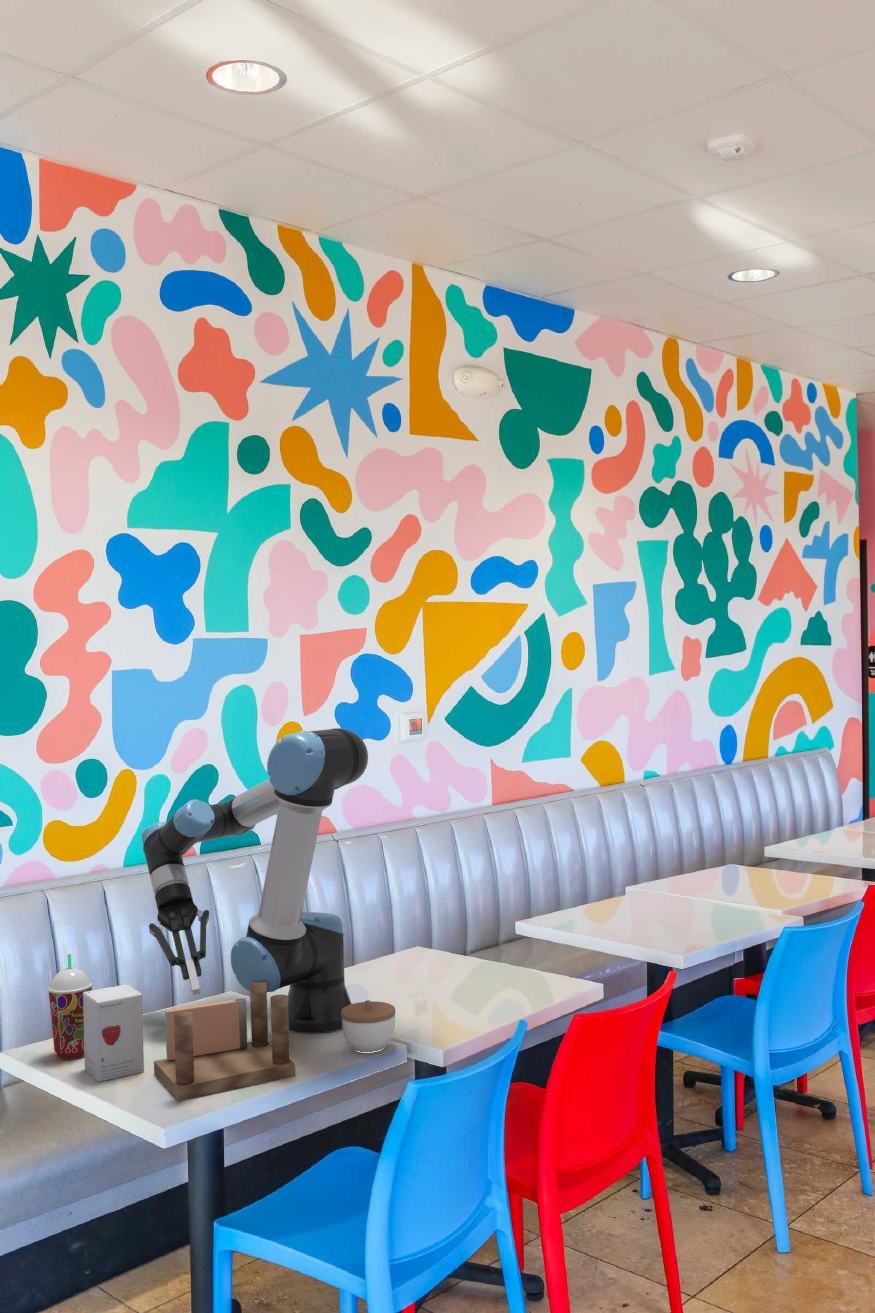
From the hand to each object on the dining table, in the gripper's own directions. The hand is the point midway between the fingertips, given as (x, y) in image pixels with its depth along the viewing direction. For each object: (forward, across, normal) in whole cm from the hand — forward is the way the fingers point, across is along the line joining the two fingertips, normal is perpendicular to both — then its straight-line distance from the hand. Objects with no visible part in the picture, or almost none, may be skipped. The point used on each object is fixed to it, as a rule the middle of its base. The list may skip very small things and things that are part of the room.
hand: (196, 991), depth 236 cm
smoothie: (+3, +26, -7) cm, 27 cm away
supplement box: (+12, +18, +2) cm, 22 cm away
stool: (+21, -1, +9) cm, 23 cm away
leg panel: (+15, +1, +6) cm, 17 cm away
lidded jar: (+23, -29, +4) cm, 37 cm away
